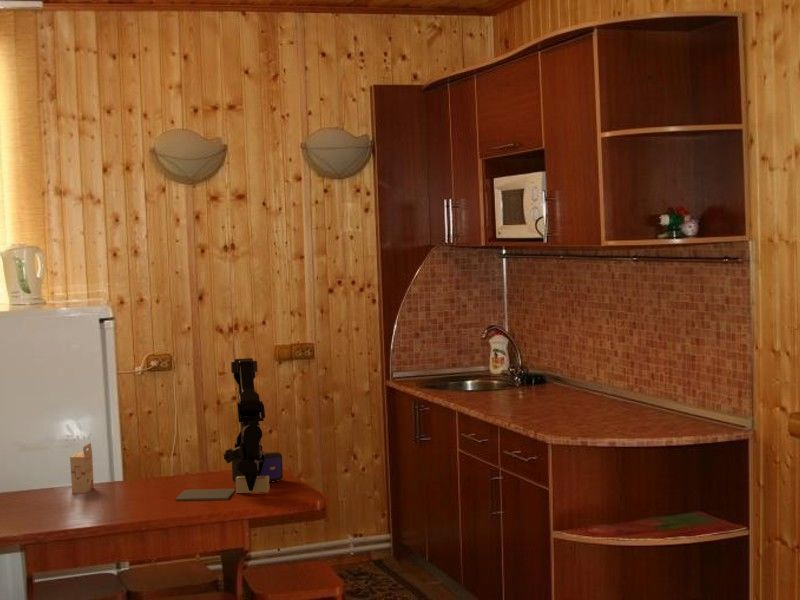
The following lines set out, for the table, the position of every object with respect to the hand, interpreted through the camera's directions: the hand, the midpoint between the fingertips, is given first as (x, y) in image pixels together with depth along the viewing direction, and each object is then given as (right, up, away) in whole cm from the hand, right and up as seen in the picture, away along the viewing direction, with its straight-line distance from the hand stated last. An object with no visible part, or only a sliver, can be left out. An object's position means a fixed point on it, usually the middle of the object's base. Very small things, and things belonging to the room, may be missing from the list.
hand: (252, 488), depth 368 cm
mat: (-14, -2, -3) cm, 14 cm away
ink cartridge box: (-56, -3, +10) cm, 57 cm away
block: (0, -1, 0) cm, 1 cm away
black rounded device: (0, -1, +16) cm, 16 cm away
